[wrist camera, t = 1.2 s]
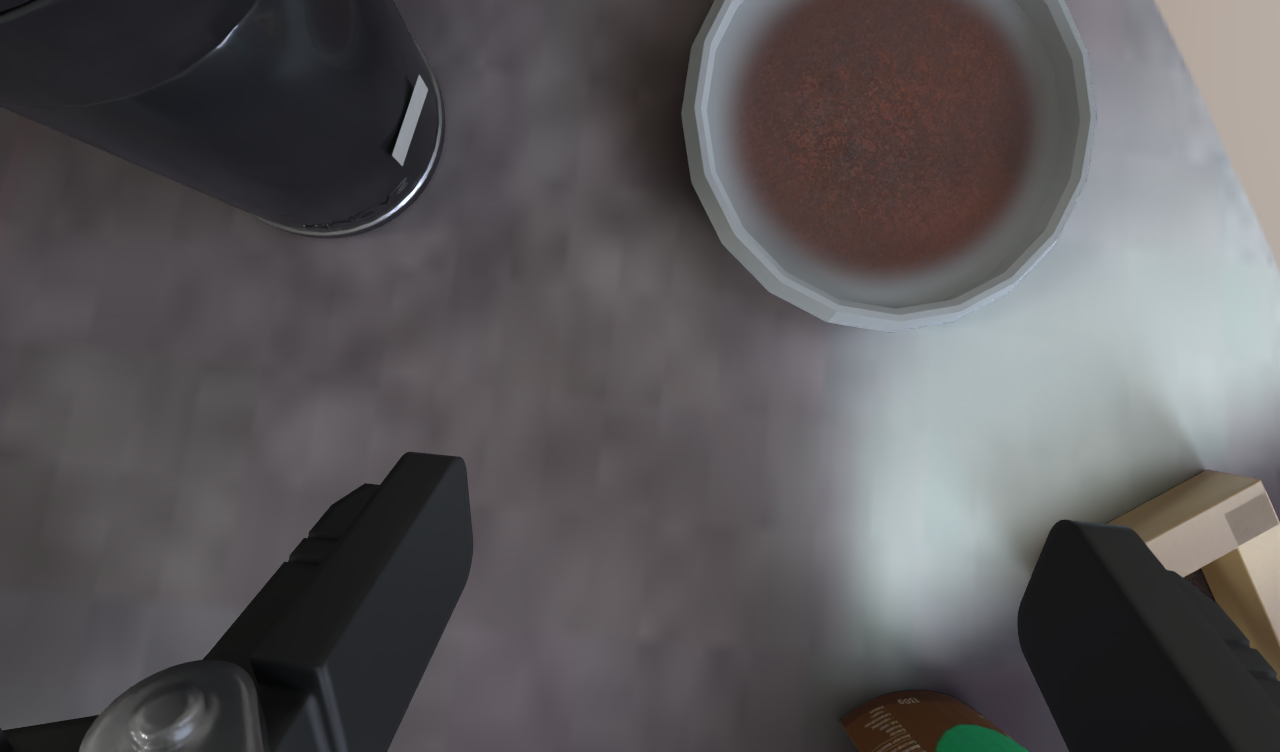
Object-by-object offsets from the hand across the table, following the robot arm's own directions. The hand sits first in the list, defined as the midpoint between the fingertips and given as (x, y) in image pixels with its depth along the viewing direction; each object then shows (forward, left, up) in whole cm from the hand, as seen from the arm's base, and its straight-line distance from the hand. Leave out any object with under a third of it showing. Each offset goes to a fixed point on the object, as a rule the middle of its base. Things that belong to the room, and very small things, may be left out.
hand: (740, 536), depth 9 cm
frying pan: (-12, +15, -19) cm, 27 cm away
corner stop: (+20, +18, -19) cm, 33 cm away
